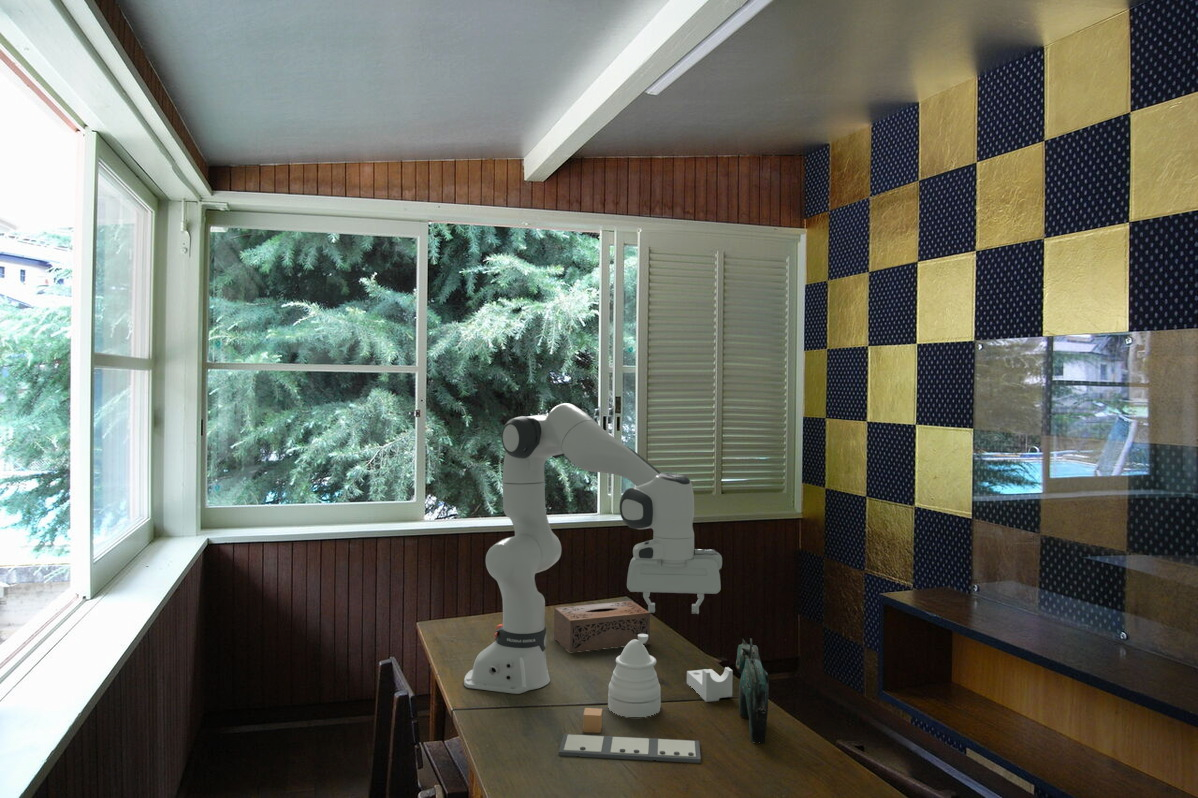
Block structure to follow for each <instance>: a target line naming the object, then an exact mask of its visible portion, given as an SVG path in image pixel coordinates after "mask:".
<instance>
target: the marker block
mask: <svg viewBox="0 0 1198 798" xmlns="http://www.w3.org/2000/svg"><path fill="white" fill-rule="evenodd" d="M582 717H583V719H582V722H583V723H582V726H583V727H582V731H583V733H599V734H600V733H601V732H602V728H603V708H598V707H597V708H596V707H584V710H583V715H582Z"/></svg>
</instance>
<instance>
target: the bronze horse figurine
mask: <svg viewBox="0 0 1198 798" xmlns="http://www.w3.org/2000/svg"><path fill="white" fill-rule="evenodd" d="M741 639H742V640H741V644H738V645H737V651H736V654H737V655H736V661H735V668H736V671H737V673H739V674H740V679H739V685H738V713H739V715H740V717H741V716H742V718H747V717H749V718H748V726H749V729H748V730H749V736H750V737H749V738H750V742H751V741H752V742H755V743H754V744H756V743H759V742H760V743H759V744H761V743H765V744H766V734H767V728H768V727H767V726H768V725H767V724H768V714H769V713H768V712H769V693H770V688H769V687H770V686H769V674H768V672H767V671H766V669H764V666H763V664H762V661H761V658H760V653H759V648H758V646H757V645H755V644H753V638H752V637H751V638H749V642H750V643H749V644H748V643H747V642H746V640H744V638H741ZM752 742H751V743H752Z"/></svg>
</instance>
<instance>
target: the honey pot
mask: <svg viewBox="0 0 1198 798" xmlns="http://www.w3.org/2000/svg"><path fill="white" fill-rule="evenodd" d="M638 639H639V640H636V639H634V640H631V641H630V642H629V643H628V644H627V645H626V646H625V647H623V650H622V652H621V654H620V655H618V656H617V657H616V658H615V664H616V666H615V667H614V669H613V672H612V676H611V679H610V681H609V683H608V686H607V687H608V694H607V696H608V697H607V708H609V709H608V710H609V711H610V712H611V711H612V712H613V713H612V712H611V713H612V714H614V713H615V714H614V715H616V714H617V715H616V716H619V715H620V716H619V717H622V716H625V717H624V718H628V717H645V718H647V717H646V716H650V717H652V716H651V715H653V716H655V715H657V714H658V713H660V712H661V709H660V708H662V707H661V706H662V705H661V704H662V703H661V702H662V701H661V698H662V697H661V696H662V695H661V694H662V693H661V692H662V691H661V690H662V689H661V685H660V683H659V677H658V674H657V671H656V670H655V667H654V666H656V665H657V659H656V657H654V656H653V655H650V654H649V651H648V650H647V648H646V647H645V646H646V645H643V644H642V643H646V642H647V640H648V635H647V634H638ZM656 713H657V714H656ZM654 714H655V715H654Z"/></svg>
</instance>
